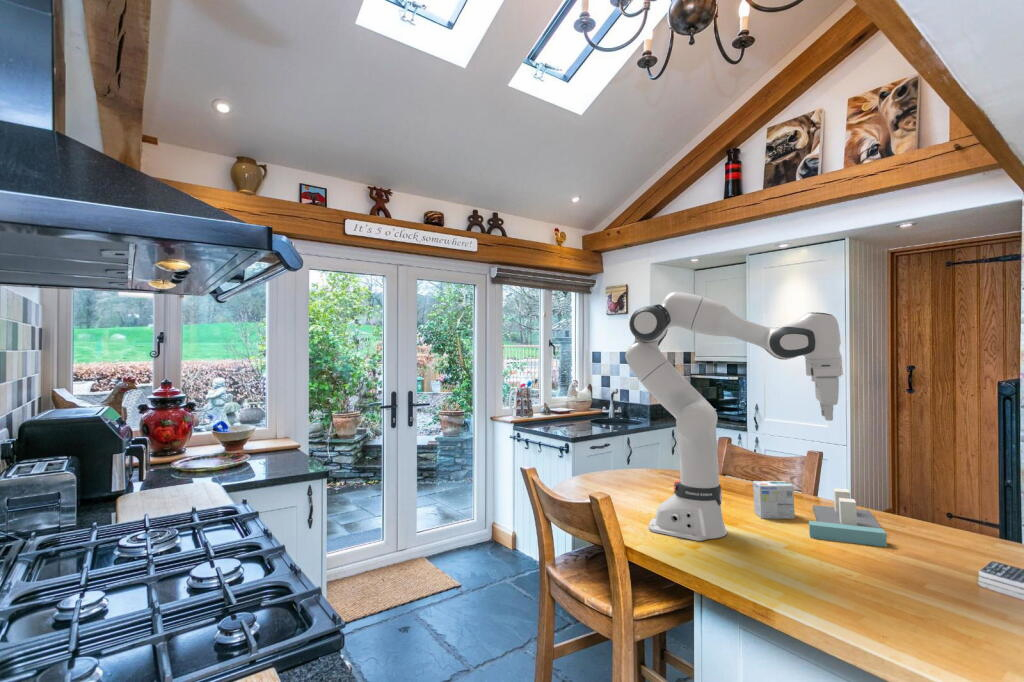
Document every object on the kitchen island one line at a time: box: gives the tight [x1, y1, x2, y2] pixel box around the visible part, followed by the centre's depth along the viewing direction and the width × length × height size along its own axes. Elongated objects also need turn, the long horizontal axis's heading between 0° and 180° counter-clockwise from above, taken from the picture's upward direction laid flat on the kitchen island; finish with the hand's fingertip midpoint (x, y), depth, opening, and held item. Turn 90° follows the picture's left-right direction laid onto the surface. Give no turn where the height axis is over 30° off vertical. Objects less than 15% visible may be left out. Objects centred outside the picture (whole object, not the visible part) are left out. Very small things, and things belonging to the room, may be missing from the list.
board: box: [812, 487, 883, 529], centre depth 158 cm, size 16×22×8 cm
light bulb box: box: [752, 480, 796, 520], centre depth 165 cm, size 11×7×11 cm, turn 84°
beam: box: [808, 520, 888, 548], centre depth 142 cm, size 18×4×4 cm, turn 63°
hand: (827, 418), depth 141 cm, fingers open, 8 cm apart
